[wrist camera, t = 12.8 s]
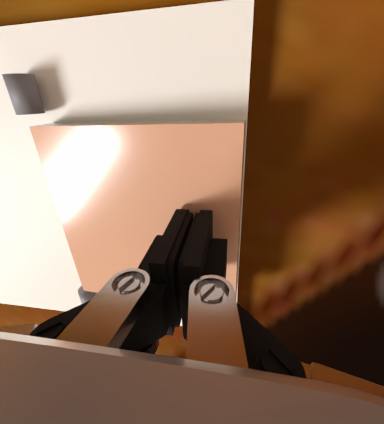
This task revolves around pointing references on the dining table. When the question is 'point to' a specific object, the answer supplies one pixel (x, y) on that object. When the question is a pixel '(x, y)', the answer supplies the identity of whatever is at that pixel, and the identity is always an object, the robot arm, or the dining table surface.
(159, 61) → the board
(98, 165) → the tile
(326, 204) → the dining table surface
